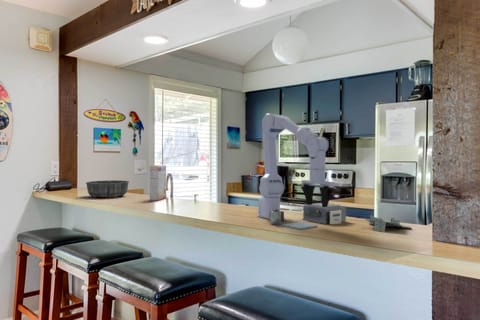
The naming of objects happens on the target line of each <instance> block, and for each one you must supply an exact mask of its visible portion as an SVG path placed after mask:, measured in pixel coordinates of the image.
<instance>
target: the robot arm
mask: <svg viewBox="0 0 480 320" xmlns="http://www.w3.org/2000/svg"><path fill="white" fill-rule="evenodd" d="M261 126H262V148H263V149H262V150H263V165H264V174H263V176H262V177H261V178H260V179H259V181H260V183H259V189H258V190H259V193H260V194H261V197H259V199H258V203H257V204H258V205H257V206H258V210H257V211H258V212H257V214H256V216H257V217H258V218H264V219H269V220H270V211H273V209H279V211H281V197H282V195H283V194H284V192H285V185H284V183H283V178H282V176H280V175H279V174H278V163H277V162H278V161H277V146H276V145H277V144H276V137H278V135H280V134H281V133H282V132H284V131H285V130H287V131H288V132H290V133H292V134H293V135H294V136H295V139H296V140H297V141H298V142H300V143H301V144H302V145H304V146H305V147H306V150H307V152H308V156H309V179H307V180H306V179H301V186H300V189H301V190H302V192H303V194H304V197H305V201H306V205H311V204H313V200H314V199H313V197H314V192H315V187H319V191H320V195H321V203H322V207H327V206H328V203H329V201H330V198H331V196H332V194H333V192H334V191H335V182H334V181H327V180H326V152H327V151H328V149H329V145H330V143H329V141H328V139H327V138H326V137H323V136H321V137H320V136H319V134H318V133H314V132H313V131H311V129H310V127H300V126H299V125H298V124H296V122H294V121H293V120H291V119H290V117H289V116H287V115H285V114H283V115H281V114H272V113H266V114H265V115H264V117H263V118H262V120H261Z"/></svg>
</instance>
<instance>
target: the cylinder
mask: <svg viewBox="0 0 480 320" xmlns="http://www.w3.org/2000/svg"><path fill="white" fill-rule="evenodd" d="M281 211H282V210H280V211H279V209H273V211H271V215H270V219H269V222H270V225H272V226H280V224H282V222H281Z"/></svg>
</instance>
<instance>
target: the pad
mask: <svg viewBox="0 0 480 320" xmlns="http://www.w3.org/2000/svg"><path fill="white" fill-rule="evenodd" d="M282 227H285V228H291V229H294V228H295V229H294V230H298V229H299V231H300V229H302V230H307V229H308V228H309V229H314V228H315V229H316V228H318V225H316V224H311V223H306V222H301V221H299V222H290V223H283V224H282Z"/></svg>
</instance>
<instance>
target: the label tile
mask: <svg viewBox="0 0 480 320" xmlns="http://www.w3.org/2000/svg"><path fill="white" fill-rule="evenodd" d="M330 224H331V225H332V224H333V225H338V224H342V222H341V210H339V211H330ZM330 224H329V225H330Z"/></svg>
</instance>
